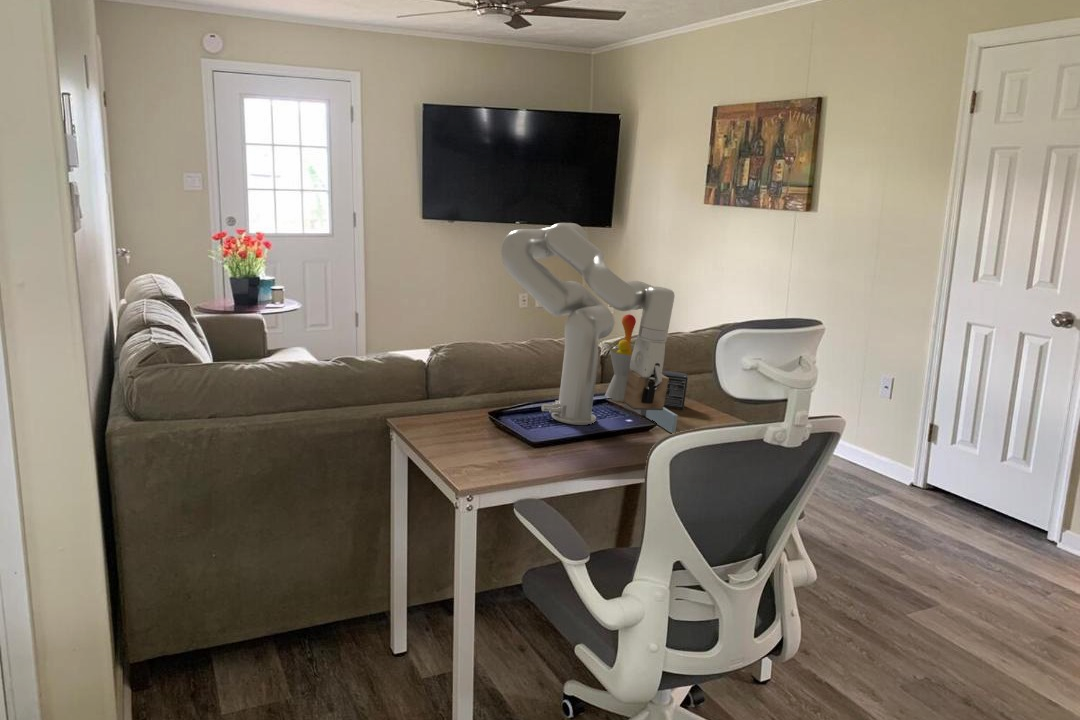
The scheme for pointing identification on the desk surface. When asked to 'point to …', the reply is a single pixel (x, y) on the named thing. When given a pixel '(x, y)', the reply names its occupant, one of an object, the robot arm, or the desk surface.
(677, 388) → the small box
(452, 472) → the desk surface
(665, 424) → the door
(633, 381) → the wooden block
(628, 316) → the lava lamp
